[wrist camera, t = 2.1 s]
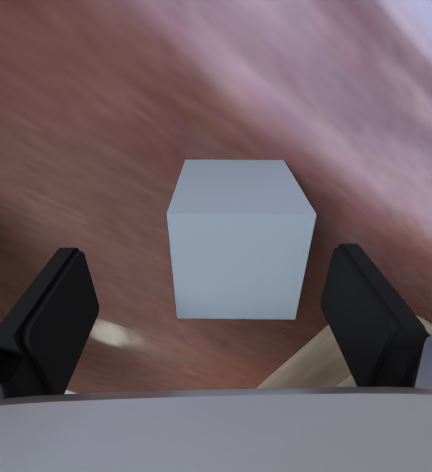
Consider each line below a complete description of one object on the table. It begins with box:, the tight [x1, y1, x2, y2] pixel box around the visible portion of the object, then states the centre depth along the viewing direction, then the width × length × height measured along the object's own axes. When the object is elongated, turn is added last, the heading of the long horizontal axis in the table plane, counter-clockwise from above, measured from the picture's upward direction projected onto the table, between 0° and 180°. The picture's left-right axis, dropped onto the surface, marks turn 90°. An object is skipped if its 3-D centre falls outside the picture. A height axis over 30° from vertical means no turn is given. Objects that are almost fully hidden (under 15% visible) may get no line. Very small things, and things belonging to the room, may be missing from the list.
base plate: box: [255, 315, 432, 389], centre depth 23 cm, size 16×16×4 cm
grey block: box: [167, 160, 316, 320], centre depth 14 cm, size 5×5×6 cm
